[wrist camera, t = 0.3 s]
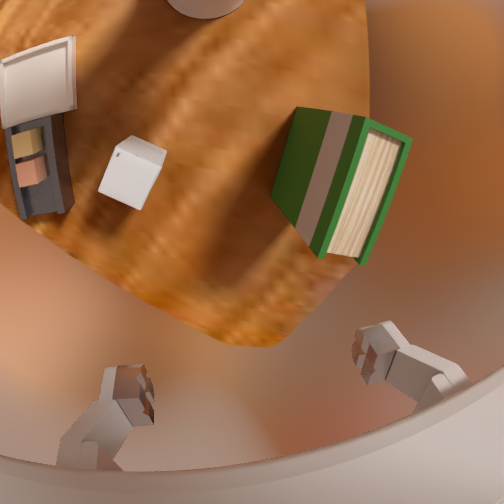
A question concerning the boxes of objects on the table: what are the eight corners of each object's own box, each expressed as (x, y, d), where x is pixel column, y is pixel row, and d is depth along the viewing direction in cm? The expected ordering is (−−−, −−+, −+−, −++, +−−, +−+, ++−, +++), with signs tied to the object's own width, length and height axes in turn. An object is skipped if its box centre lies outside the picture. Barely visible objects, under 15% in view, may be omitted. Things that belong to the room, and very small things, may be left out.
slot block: (19, 125, 41) (4, 129, 37) (62, 113, 43) (50, 115, 38) (32, 209, 49) (21, 219, 45) (74, 202, 51) (65, 212, 46)
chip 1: (22, 132, 39) (11, 135, 36) (40, 127, 40) (29, 130, 36) (25, 154, 41) (14, 159, 38) (42, 149, 42) (32, 154, 38)
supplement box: (114, 171, 50) (95, 191, 39) (132, 133, 48) (115, 144, 37) (150, 187, 53) (140, 212, 42) (169, 151, 51) (162, 166, 40)
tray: (4, 61, 34) (-1, 60, 33) (76, 37, 37) (72, 35, 35) (7, 127, 41) (2, 129, 39) (77, 109, 43) (73, 109, 42)
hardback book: (305, 204, 60) (365, 265, 40) (270, 196, 58) (317, 258, 38) (332, 118, 53) (412, 139, 32) (296, 106, 51) (365, 117, 30)
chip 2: (25, 159, 42) (15, 164, 38) (43, 155, 42) (33, 160, 39) (29, 181, 43) (19, 187, 40) (47, 177, 44) (37, 183, 41)
